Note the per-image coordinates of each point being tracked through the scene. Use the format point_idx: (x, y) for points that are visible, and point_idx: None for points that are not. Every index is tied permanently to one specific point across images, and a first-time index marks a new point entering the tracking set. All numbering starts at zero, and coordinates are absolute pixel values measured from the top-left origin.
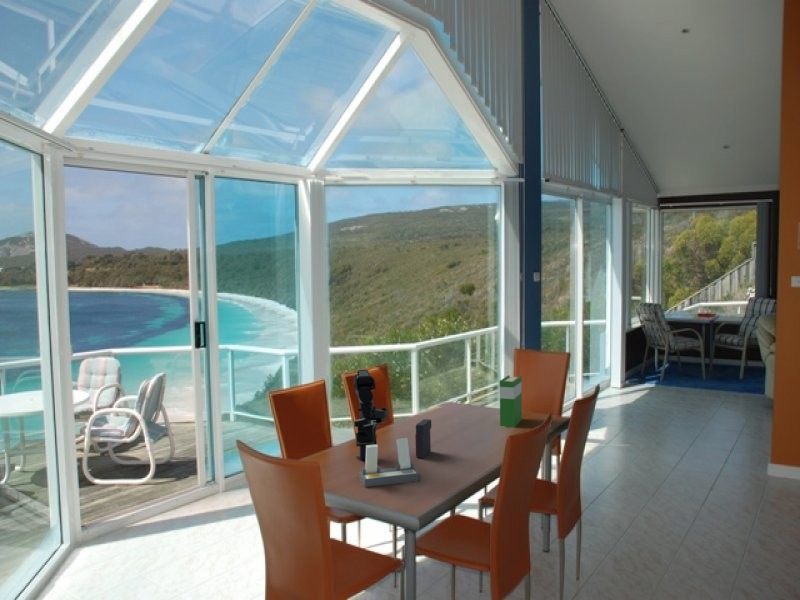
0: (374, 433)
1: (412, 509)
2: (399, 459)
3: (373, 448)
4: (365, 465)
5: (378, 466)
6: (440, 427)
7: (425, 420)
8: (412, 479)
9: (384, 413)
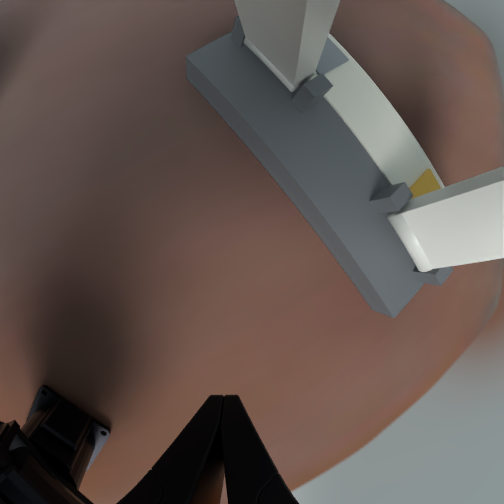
0: (201, 476)
1: (477, 43)
2: (318, 58)
3: None
4: (449, 265)
5: (398, 196)
6: None
7: None
8: None
9: None
